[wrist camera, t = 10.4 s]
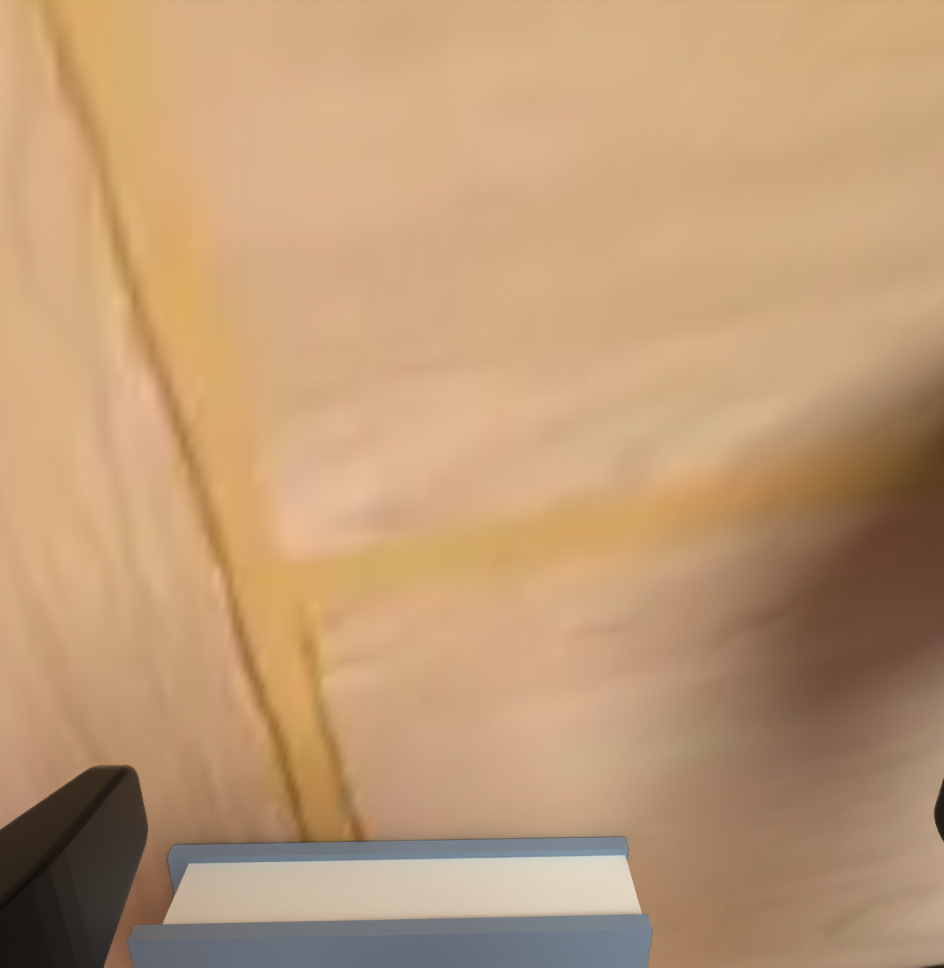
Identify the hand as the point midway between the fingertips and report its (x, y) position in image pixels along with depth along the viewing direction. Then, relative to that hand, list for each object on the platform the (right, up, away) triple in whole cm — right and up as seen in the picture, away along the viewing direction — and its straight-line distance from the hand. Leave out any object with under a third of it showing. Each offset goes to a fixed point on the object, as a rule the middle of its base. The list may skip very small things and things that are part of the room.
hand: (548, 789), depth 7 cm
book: (-3, -15, +18) cm, 24 cm away
